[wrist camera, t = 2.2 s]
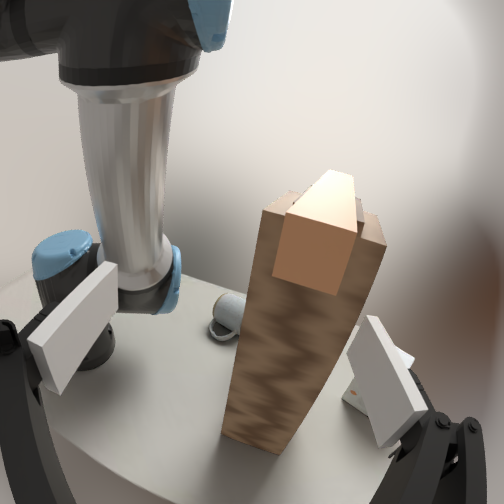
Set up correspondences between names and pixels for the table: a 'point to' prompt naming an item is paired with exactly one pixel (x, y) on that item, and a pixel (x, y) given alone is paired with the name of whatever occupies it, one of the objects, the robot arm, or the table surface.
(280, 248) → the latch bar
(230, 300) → the ceramic mug
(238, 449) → the table surface
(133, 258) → the robot arm
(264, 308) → the post
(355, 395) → the small box
